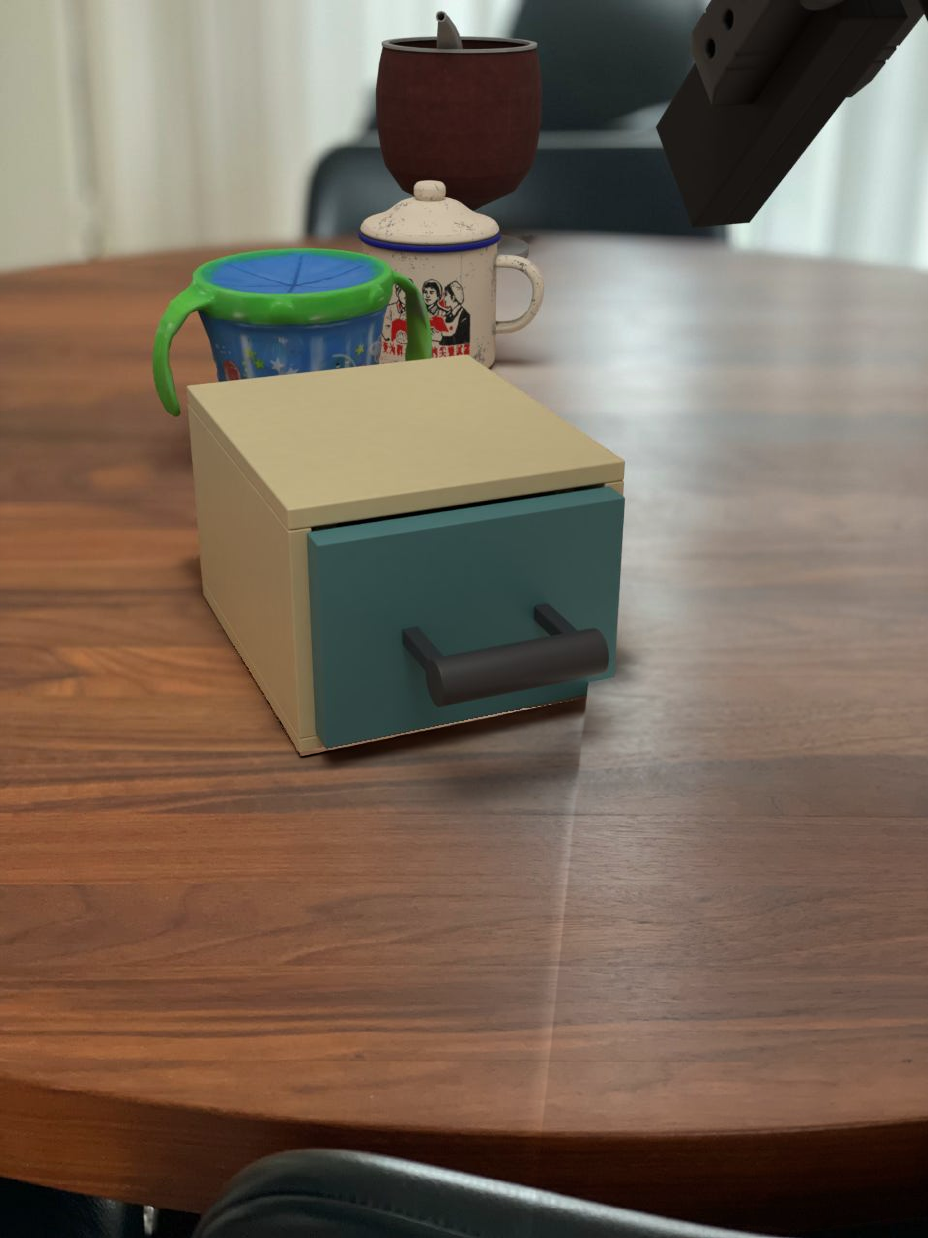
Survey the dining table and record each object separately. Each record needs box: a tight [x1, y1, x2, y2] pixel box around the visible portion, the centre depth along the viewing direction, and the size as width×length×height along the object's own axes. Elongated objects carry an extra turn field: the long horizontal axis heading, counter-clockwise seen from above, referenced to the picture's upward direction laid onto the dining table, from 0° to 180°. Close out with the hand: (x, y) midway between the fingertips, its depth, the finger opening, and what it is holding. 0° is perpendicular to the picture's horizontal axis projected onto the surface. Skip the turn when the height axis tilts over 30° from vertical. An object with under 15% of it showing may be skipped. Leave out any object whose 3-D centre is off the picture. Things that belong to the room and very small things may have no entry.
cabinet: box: [186, 355, 626, 752], centre depth 58 cm, size 15×13×10 cm
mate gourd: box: [375, 10, 543, 259], centre depth 121 cm, size 16×14×20 cm
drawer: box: [307, 487, 626, 749], centre depth 55 cm, size 18×11×8 cm, turn 23°
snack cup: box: [152, 247, 432, 418], centre depth 78 cm, size 16×10×10 cm
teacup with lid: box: [358, 180, 545, 369], centre depth 93 cm, size 12×9×12 cm
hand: (702, 173), depth 33 cm, fingers closed
